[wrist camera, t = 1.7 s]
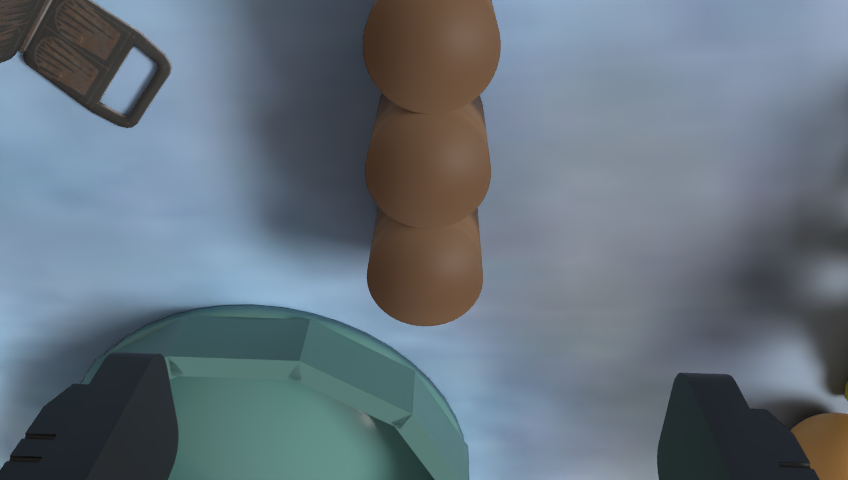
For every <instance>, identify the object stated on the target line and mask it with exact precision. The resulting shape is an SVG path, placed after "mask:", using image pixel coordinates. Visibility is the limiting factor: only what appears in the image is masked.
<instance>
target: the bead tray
mask: <svg viewBox="0 0 848 480" xmlns="http://www.w3.org/2000/svg"><path fill="white" fill-rule="evenodd" d="M112 352H128V353H157V354H162V355H163V357H164V358H165V361H166V364H167V369H168V374H169V380H170V385H171V390H172V396H173V401H174V407H175V412H176V417H177V423H178V431H179V439H178V449H177V455H176V459H175V463H174V466H173V468H172V471H171V473H170V476H169V478H168V480H469V460H468V446H467V444H466V443H465V441H464V438H463V434H462V431H461V429H460V426H459V424H458V421H457V419H456V416H455V414H454V413H453V411H452V409H451V408H450V406H449V404H448V402H447V401H446V399H445V397H444V396H443V395H442V394H441V392H440V391H439V390H438V389H437V387H436V386H435V385H434V384H433V383H432V381H431V380H430V379H429V378H428V377H427V376H426V375H425V374H424V373H423V372H422V371H421V370H419V369H418V368H417V367H416V366H415V365H414V364H413V363H412V362H411V361H409V360H408V359H407V358H405V357H404V356H403V355H401V354H400V353H398V352H397V351H396V350H394V349H393V348H392V347H390V346H388V345H387V344H385V343H383V342H381V341H379V340H378V339H376V338H374V337H372V336H371V335H369V334H367V333H365V332H363V331H360V330H358V329H356V328H353V327H351V326H349V325H346V324H344V323H341V322H339V321H336V320H332V319H329V318H326V317H322V316H319V315H316V314H313V313H308V312H303V311H298V310H292V309H287V308H282V307H270V306H259V305H228V306H217V307H209V308H202V309H195V310H191V311H187V312H183V313H179V314H175V315H172V316H168V317H166V318H163V319H161V320H158V321H156V322H153V323H151V324H148V325H146V326H144V327H142V328H140V329H139V330H137V331H135V332H133V333H132V334H130V335H128V336H126V337H125V338H123V339H122V340H121V341H119V342H118V343H117V344H116V345H114V346H113V347H112V348H111V349H109V350H108V351H107V352H106V353H105V354H104V355H103V356H102V357H100V358H98V359H96V360H95V361H94V363H93V365H92V366H91V368H90V369H89V371H88V372H87V374H86V376H85V377H84V379H83V380H82V382H81V383H80V384H89V383H90V381H91V380H92V378H93V377H94V375H95V374H96V372H97V370H98V369H99V367H100V366H101V364H102V363H103V361H104V359H105V358H106V357H107V356H108V355H109V354H110V353H112Z"/></svg>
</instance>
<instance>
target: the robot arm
mask: <svg viewBox="0 0 848 480" xmlns="http://www.w3.org/2000/svg"><path fill="white" fill-rule="evenodd" d="M25 434H26V436H25V439H21V441H20V442H19V444H18V445H17V446H16V448H15V449H14V451H13V452H12V454H11V455H10V461H6V462H5V464H4V465H3V467H2V468H1V470H0V480H168V478H169V476H170V473H171V471H172V468H173V466H174V463H175V459H176V455H177V449H178V439H179V431H178V423H177V417H176V412H175V407H174V401H173V396H172V390H171V385H170V380H169V374H168V369H167V364H166V361H165V358H164V357H163V355H162V354H157V353H128V352H112V353H110V354H109V355H108V356H107V357H106V358H105V359H104V361H103V363H102V364H101V366H100V367H99V369H98V370H97V372H96V374H95V375H94V377H93V378H92V380H91V381H90V383H89V384H72V385H71V386H70V387H69V388H67V389H66V390H65V391H63V392H62V393H61V394H59V395H58V396H57V397H56V398H54V399H53V400H52V401H50V402H49V403H48V404H47V405H45V406H44V407H43V409H42V410H41V412H40V413H39V414H38V416H37V417H36V419H35V420H34V422H33V423H32V425H31V426H30V428H29V429H28V430H27V432H26V433H25ZM657 465H658V475H659V480H820V479H819V477H818V475H817V474H816V472H815V470H814V469H811V467H810V461H809V460H808V458H807V456H806V454H805V453H804V451H803V449H802V447H801V446H800V444H799V442H798V440H797V439H796V437H795V435H794V434H793V433H792V432H791V431H790V430H789V429H787V428H786V427H785V426H784V425H783V424H782V423H781V422H780V421H779V420H777V419H776V418H775V417H774V416H773V415H772V414H771V413H770V412H769V411H767V410H766V409H749V407H748V405H747V403H746V401H745V399H744V397H743V395H742V393H741V391H740V389H739V387H738V386H737V384H736V382H735V380H734V379H733V378H732V376H730V375H727V374H699V373H679V374H678V375H677V376H676V378H675V380H674V383H673V387H672V391H671V395H670V399H669V404H668V408H667V412H666V416H665V420H664V424H663V428H662V432H661V436H660V440H659V445H658V454H657Z"/></svg>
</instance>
